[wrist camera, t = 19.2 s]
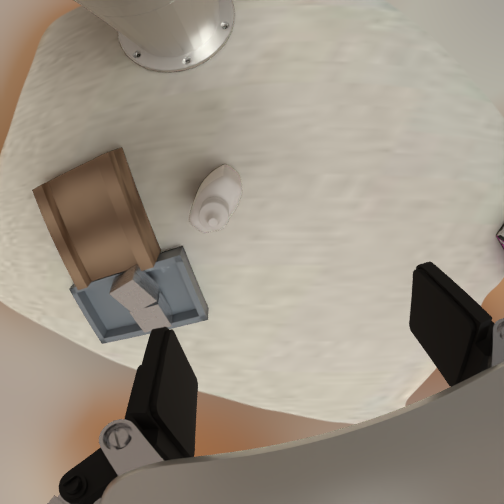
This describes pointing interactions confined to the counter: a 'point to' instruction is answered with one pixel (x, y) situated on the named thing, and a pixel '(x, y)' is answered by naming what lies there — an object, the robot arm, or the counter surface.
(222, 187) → the eye dropper bottle
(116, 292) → the chip
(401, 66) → the counter surface
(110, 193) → the slot block
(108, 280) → the tray
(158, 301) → the chip
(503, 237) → the candy bar box
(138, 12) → the robot arm
